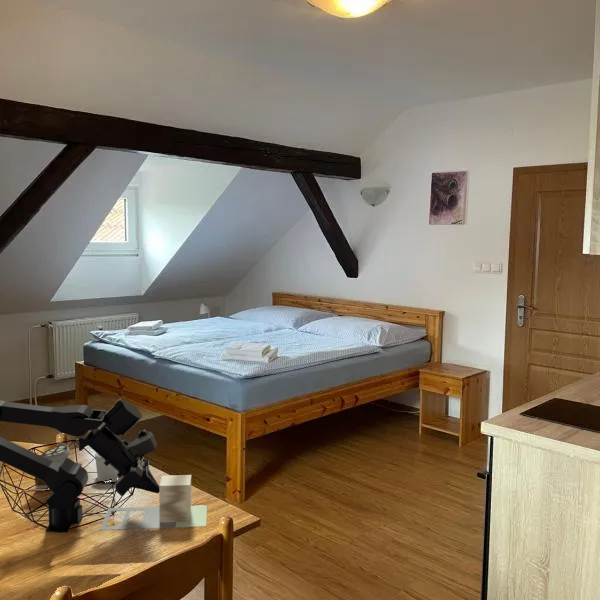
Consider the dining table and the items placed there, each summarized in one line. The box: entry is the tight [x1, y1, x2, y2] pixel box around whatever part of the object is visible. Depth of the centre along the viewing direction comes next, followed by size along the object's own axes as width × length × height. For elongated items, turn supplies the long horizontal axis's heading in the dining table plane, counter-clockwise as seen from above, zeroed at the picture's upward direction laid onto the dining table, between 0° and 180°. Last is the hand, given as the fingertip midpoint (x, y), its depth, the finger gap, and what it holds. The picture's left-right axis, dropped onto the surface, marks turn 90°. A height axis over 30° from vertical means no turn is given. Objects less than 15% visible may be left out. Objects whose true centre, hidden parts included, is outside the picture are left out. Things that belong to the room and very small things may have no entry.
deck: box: [99, 504, 208, 531], centre depth 146 cm, size 24×11×2 cm, turn 97°
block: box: [158, 474, 192, 523], centre depth 146 cm, size 7×6×9 cm
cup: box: [94, 452, 118, 484], centre depth 171 cm, size 11×8×8 cm
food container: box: [34, 441, 71, 490], centre depth 165 cm, size 12×6×10 cm, turn 168°
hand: (159, 491), depth 145 cm, fingers closed, pressing on block
